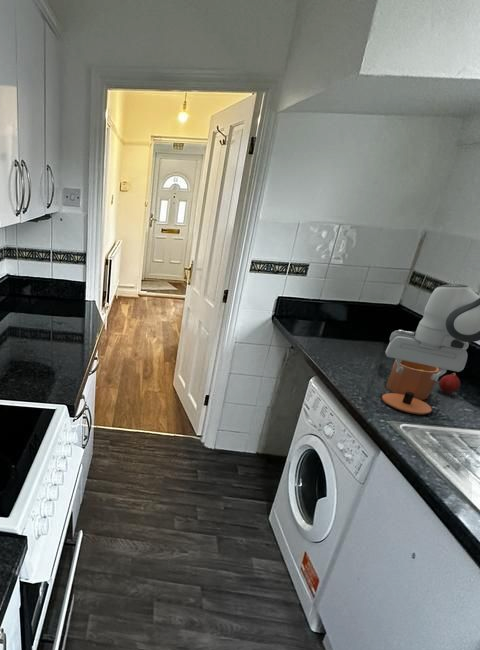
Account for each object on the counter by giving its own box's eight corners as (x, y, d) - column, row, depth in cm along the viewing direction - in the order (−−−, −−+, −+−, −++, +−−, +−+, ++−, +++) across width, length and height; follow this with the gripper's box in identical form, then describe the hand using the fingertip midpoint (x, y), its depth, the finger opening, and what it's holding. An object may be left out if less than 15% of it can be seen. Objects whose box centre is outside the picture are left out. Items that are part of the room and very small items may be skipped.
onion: (437, 387, 153) (447, 368, 149) (456, 394, 149) (466, 374, 146) (433, 391, 149) (442, 371, 146) (452, 398, 145) (462, 378, 142)
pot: (426, 390, 151) (437, 363, 146) (429, 403, 141) (441, 375, 136) (385, 380, 156) (395, 355, 152) (386, 392, 147) (396, 365, 142)
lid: (428, 403, 140) (433, 391, 138) (432, 420, 129) (438, 407, 128) (381, 392, 147) (385, 380, 145) (381, 407, 136) (386, 394, 134)
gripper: (393, 330, 131) (378, 370, 136) (475, 346, 121) (456, 388, 127) (392, 326, 135) (378, 364, 141) (471, 340, 126) (453, 381, 132)
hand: (415, 376), depth 134 cm, fingers open, 8 cm apart
